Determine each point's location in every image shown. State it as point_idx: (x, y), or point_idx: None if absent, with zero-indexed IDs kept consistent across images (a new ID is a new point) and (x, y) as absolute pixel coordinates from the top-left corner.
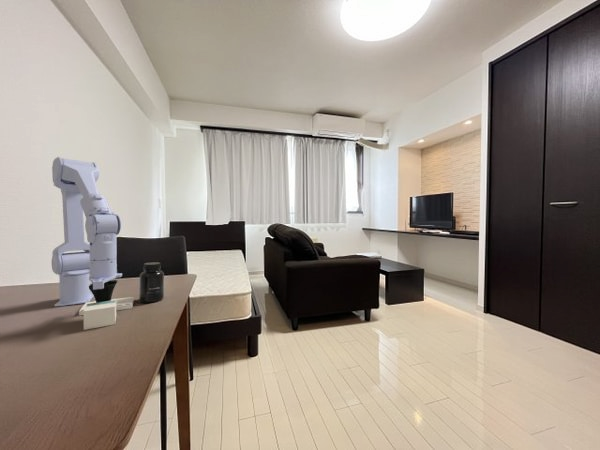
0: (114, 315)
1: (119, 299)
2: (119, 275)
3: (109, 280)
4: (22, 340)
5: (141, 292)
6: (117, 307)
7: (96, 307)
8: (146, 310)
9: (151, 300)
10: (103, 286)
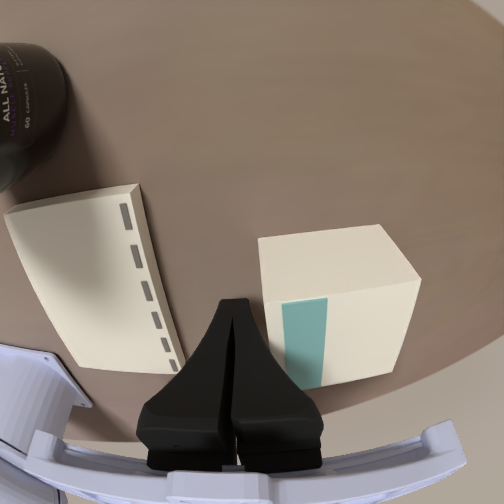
0: (397, 249)
1: (39, 273)
2: (271, 495)
3: (380, 470)
4: (344, 397)
5: (13, 175)
6: (148, 259)
7: (371, 350)
8: (213, 85)
9: (62, 90)
10: (449, 431)
